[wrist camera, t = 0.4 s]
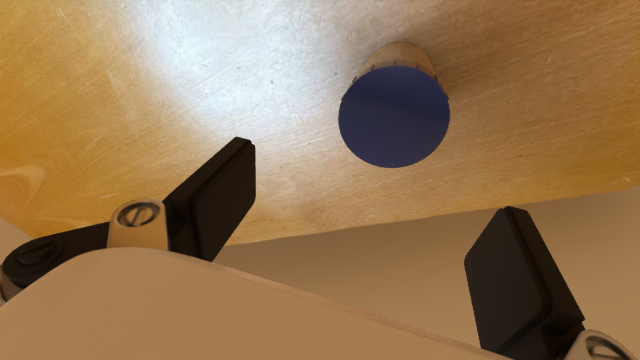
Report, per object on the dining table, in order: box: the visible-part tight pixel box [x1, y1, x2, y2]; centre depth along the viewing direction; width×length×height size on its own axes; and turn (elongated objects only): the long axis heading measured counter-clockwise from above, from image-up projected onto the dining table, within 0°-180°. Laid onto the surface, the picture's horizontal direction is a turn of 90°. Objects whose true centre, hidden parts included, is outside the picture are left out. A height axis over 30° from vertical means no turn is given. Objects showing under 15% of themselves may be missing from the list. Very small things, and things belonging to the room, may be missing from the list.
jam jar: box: [361, 42, 435, 75], centre depth 22 cm, size 6×6×9 cm
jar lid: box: [338, 58, 450, 168], centre depth 18 cm, size 7×7×2 cm
